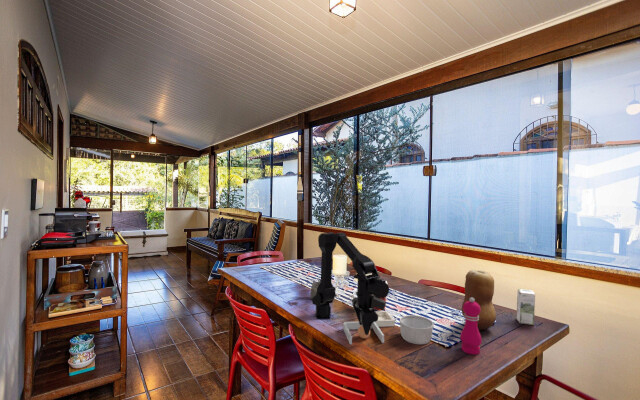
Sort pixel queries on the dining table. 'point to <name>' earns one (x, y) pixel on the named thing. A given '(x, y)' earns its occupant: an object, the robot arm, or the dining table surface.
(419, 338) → the ramekin
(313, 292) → the mineral rock
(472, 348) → the pepper mill
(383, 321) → the dish
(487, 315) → the butternut squash
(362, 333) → the ball
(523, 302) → the syrup box
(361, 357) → the dining table surface
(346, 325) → the white c-shaped bracket
